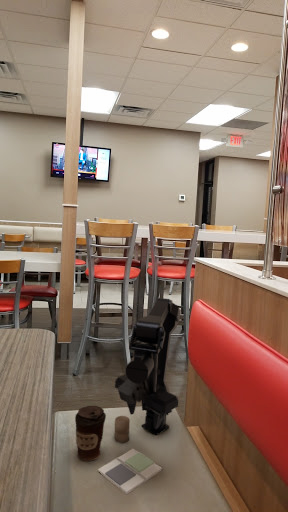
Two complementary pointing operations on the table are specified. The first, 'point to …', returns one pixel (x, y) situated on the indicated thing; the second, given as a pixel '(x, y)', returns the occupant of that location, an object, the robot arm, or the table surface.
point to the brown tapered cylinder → (121, 429)
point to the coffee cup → (89, 431)
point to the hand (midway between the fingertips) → (143, 421)
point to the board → (129, 470)
